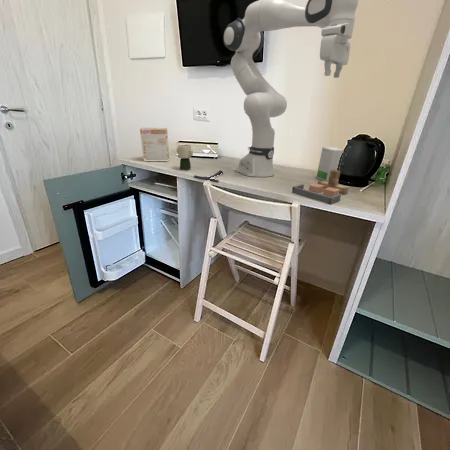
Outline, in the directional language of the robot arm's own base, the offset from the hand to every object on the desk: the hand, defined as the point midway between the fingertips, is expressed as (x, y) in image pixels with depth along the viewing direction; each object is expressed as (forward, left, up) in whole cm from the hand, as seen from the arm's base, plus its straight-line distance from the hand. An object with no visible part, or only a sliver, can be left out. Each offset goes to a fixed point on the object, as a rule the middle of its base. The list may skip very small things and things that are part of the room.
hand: (331, 76), depth 99 cm
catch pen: (+7, -10, -44) cm, 46 cm away
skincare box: (-4, +19, -45) cm, 48 cm away
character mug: (-64, -27, -45) cm, 82 cm away
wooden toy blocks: (+7, +4, -45) cm, 45 cm away
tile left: (+4, -3, -45) cm, 45 cm away
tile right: (+11, -3, -45) cm, 46 cm away
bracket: (-42, -24, -45) cm, 66 cm away
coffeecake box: (-94, -29, -45) cm, 108 cm away
